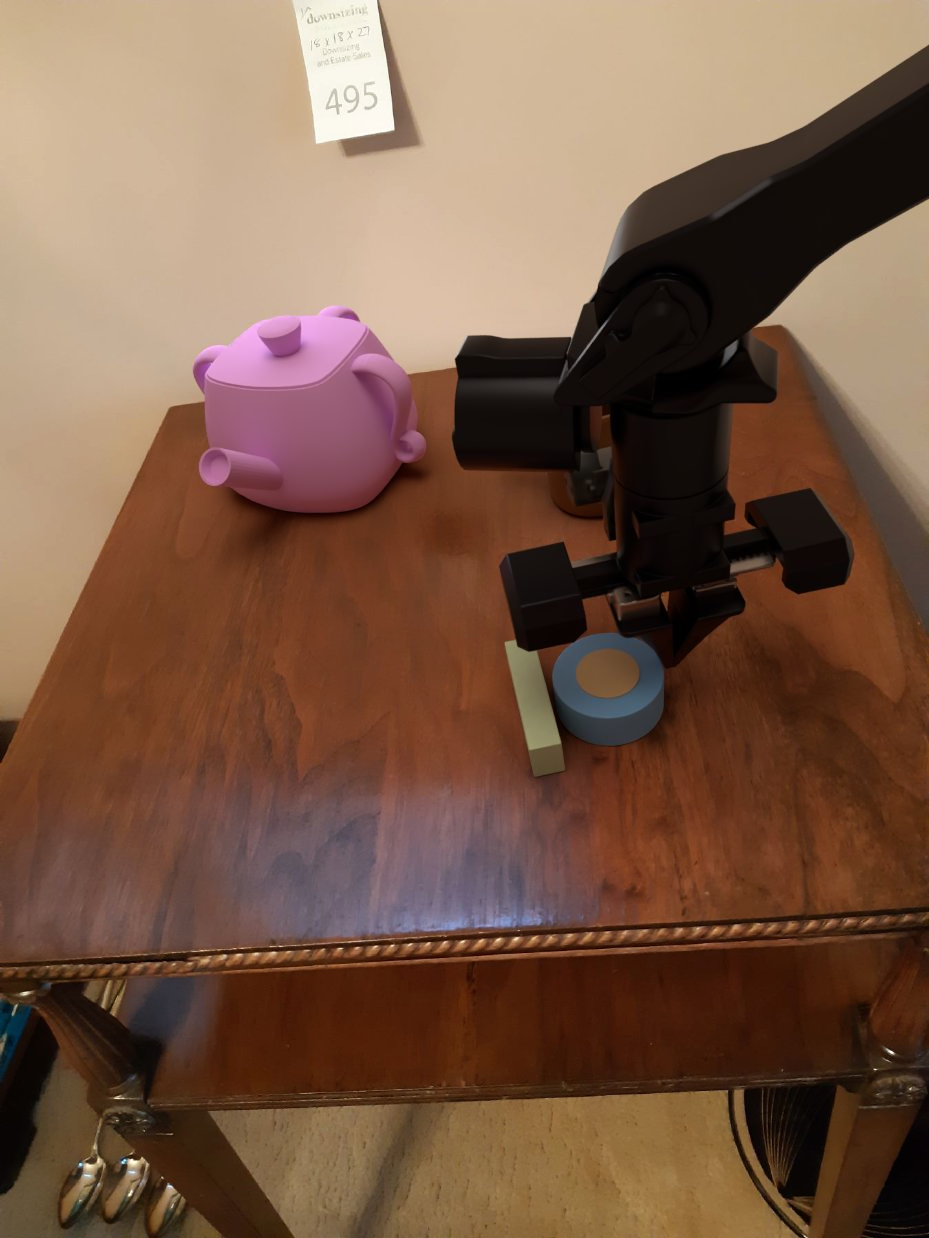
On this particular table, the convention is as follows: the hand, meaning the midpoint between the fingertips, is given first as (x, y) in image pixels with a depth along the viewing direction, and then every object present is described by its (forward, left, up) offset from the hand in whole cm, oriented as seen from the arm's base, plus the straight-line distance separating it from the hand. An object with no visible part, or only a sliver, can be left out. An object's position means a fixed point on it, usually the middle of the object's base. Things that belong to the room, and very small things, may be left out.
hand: (668, 662), depth 53 cm
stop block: (+9, 0, -3) cm, 9 cm away
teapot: (+23, -33, -3) cm, 41 cm away
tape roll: (+4, 0, -3) cm, 5 cm away
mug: (+1, -23, -3) cm, 23 cm away
